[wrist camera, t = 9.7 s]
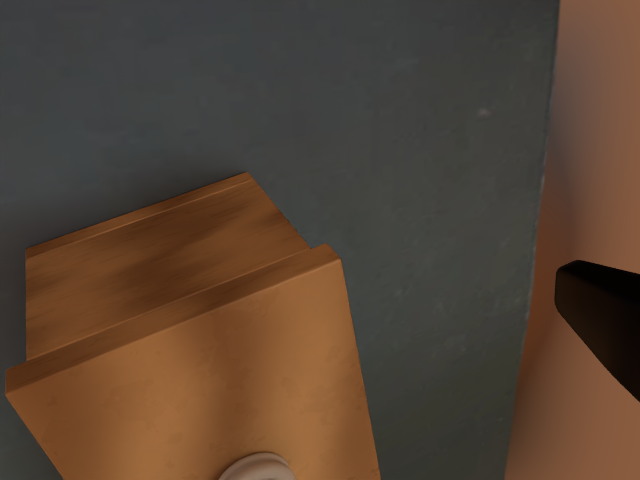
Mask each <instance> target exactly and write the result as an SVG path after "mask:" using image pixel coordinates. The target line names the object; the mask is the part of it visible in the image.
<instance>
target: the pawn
mask: <svg viewBox="0 0 640 480" xmlns="http://www.w3.org/2000/svg"><path fill="white" fill-rule="evenodd" d="M219 480H296V479H295V475H294V473H293V471H292V470H291V469H290V468H289V466H288V463H287V461H286V460H285V459H284V458H283V457H282V456H279V455H277V454H275V453H269V452H264V453H256V454H253V455H249V456H246V457H244V458H242V459H240V460H238V461H237V462H235V463H234V464H232V465H231V466H230V467H229V468H228V469H227V470H226V471H225V472H224V473H223V474H222V475H221V477H220V478H219Z"/></svg>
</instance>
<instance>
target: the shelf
mask: <svg viewBox="0 0 640 480" xmlns="http://www.w3.org/2000/svg"><path fill="white" fill-rule="evenodd" d="M5 396H6V398H7V399H8V400H9V402H10V403H11V405H12V406H13V408H14V409H15V410H16V412H17V413H18V415H19V416H20V418H21V419H22V420H23V422H24V423H25V425H26V426H27V427H28V429H29V430H30V432H31V433H32V435H33V436H34V437H35V439H36V440H37V442H38V443H39V445H40V446H41V447H42V449H43V450H44V452H45V453H46V455H47V456H48V457H49V459H50V460H51V462H52V463H53V465H54V466H55V467H56V469H57V470H58V472H59V473H60V475H61V476H62V477H63V479H64V480H219V478H220V477H221V475H222V474H223V473H224V472H225V471H226V470H227V469H228V468H229V467H230V466H231V465H232V464H234V463H235V462H237V461H238V460H240V459H242V458H244V457H246V456H249V455H253V454H256V453H264V452H269V453H275V454H277V455H279V456H282V457H283V458H284V459H285V460H286V461H287V463H288V466H289V468H290V469H291V470H292V471H293V473H294V475H295V479H296V480H381V477H380V472H379V466H378V461H377V455H376V450H375V444H374V439H373V433H372V428H371V422H370V416H369V411H368V405H367V400H366V394H365V389H364V383H363V378H362V372H361V367H360V361H359V356H358V350H357V345H356V339H355V334H354V328H353V323H352V317H351V312H350V306H349V300H348V295H347V289H346V284H345V278H344V273H343V267H342V262H341V258H340V257H339V256H338V255H337V254H336V253H335V252H334V250H333V249H332V248H331V247H330V246H329V245H328V244H327V243H325V244H322V245H320V246H317V247H314V248H312V249H311V248H310V247H309V246H308V244H307V243H306V242H305V241H304V240H303V238H302V237H301V236H300V235H299V234H298V232H297V231H296V230H295V229H294V227H293V226H292V225H291V224H290V223H289V221H288V220H287V219H286V218H285V216H284V215H283V214H282V213H281V212H280V210H279V209H278V208H277V207H276V206H275V204H274V203H273V202H272V201H271V199H270V198H269V197H268V196H267V195H266V193H265V192H264V191H263V190H262V188H261V187H260V186H259V185H258V184H257V182H256V181H255V180H254V179H253V178H252V176H251V175H250V174H249V173H248V172H245V173H242V174H239V175H237V176H234V177H231V178H228V179H225V180H222V181H219V182H216V183H214V184H211V185H208V186H205V187H202V188H199V189H196V190H193V191H191V192H188V193H185V194H182V195H179V196H176V197H173V198H171V199H168V200H165V201H162V202H159V203H156V204H153V205H150V206H148V207H145V208H142V209H139V210H136V211H133V212H130V213H127V214H125V215H122V216H119V217H116V218H113V219H110V220H107V221H105V222H102V223H99V224H96V225H93V226H90V227H87V228H84V229H82V230H79V231H76V232H73V233H70V234H67V235H64V236H61V237H59V238H56V239H53V240H50V241H47V242H44V243H41V244H39V245H36V246H33V247H30V248H27V249H26V362H24V363H21V364H19V365H16V366H14V367H11V368H9V369H7V370H6V382H5Z"/></svg>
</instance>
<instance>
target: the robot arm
mask: <svg viewBox="0 0 640 480" xmlns="http://www.w3.org/2000/svg"><path fill="white" fill-rule="evenodd" d="M554 300H555V305H556V308H557V310H558V312H559V313H560V314H561V316H562V317H563V318H564V319H565V320H566V321H567V323H568V324H569V325H570V326H571V327H572V329H573V330H574V331H575V332H576V333H577V335H578V336H579V337H580V338H581V339H582V340H583V341H584V343H585V344H586V345H587V346H588V348H589V349H590V350H591V351H592V352H593V354H594V355H595V356H596V357H597V358H598V359H599V361H600V362H601V363H602V364H603V365H604V367H606V369H607V370H608V371H609V372H610V373H611V374H612V375H613V376H614V377H615V378H616V379H617V380H618V381H619V382H620V384H622V386H624V387H625V388H626V389H627V390H628V391H629V392H630V393H631V394H632V395H633V396H634V397H635V398H636V399H637V400H638V401H639V402H640V274H637V273H633V272H628V271H624V270H620V269H616V268H612V267H607V266H603V265H599V264H595V263H591V262H586V261H581V260H575V261H572V262H570V263H568V264H566V265H564V266H561V267H560V268H558V270H557V272H556V281H555V299H554Z"/></svg>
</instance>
